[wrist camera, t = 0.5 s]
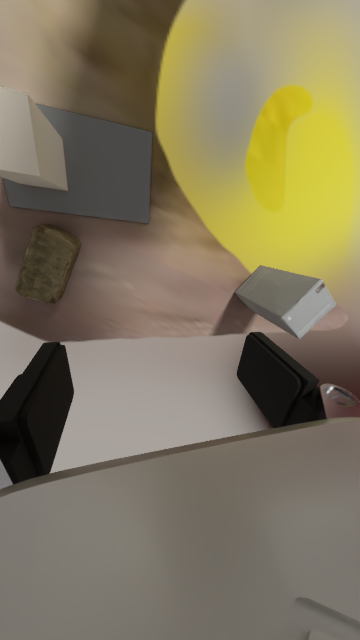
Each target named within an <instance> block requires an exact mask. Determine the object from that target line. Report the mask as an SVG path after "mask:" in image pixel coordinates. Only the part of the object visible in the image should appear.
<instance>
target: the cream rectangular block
mask: <svg viewBox="0 0 360 640" xmlns="http://www.w3.org/2000/svg"><path fill="white" fill-rule="evenodd" d="M0 177H3V178H5V179H8V180H11V181H14V182H17V183H19V184H24V185H30V186H37V187H44V188H51V189H57V190H64V191H68V182H67V173H66V164H65V155H64V146H63V139H62V138H61V136H60V135H59V134H58V132H57V131H56V130H55V129H54V127H53V126H52V125H51V123H50V122H49V121H48V120H47V118H46V117H45V116H44V114H43V113H42V112H41V111H40V109H39V108H38V107H37V105H36V104H35V103H34V102H33V100H32V99H31V98H30V96H29V95H28V94H27V93H25V92H21V91H17V90H13V89H9V88H5V87H1V86H0Z"/></svg>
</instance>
